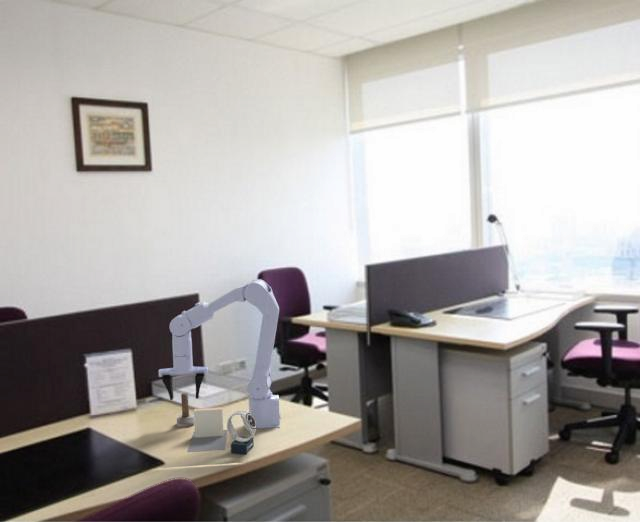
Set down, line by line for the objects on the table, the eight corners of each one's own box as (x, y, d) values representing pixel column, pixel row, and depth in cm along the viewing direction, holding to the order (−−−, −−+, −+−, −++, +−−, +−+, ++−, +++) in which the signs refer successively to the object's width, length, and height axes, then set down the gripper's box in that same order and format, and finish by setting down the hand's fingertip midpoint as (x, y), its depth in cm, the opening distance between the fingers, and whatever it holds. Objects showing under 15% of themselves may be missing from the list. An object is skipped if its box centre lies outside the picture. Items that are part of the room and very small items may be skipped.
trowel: (194, 423, 189) (193, 392, 188) (193, 427, 186) (192, 395, 185) (178, 424, 189) (176, 393, 188) (177, 428, 186) (175, 396, 185)
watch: (253, 456, 163) (251, 416, 162) (225, 454, 165) (223, 414, 164) (260, 448, 168) (259, 409, 167) (233, 446, 170) (231, 408, 169)
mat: (227, 431, 182) (227, 429, 182) (224, 451, 167) (224, 449, 167) (193, 433, 181) (193, 431, 181) (187, 453, 166) (187, 451, 166)
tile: (223, 433, 178) (222, 407, 178) (223, 435, 177) (222, 408, 176) (195, 435, 178) (194, 408, 177) (195, 437, 176) (193, 410, 175)
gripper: (207, 350, 190) (209, 393, 191) (160, 352, 189) (162, 395, 190) (205, 355, 183) (207, 400, 184) (156, 358, 182) (158, 402, 183)
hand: (184, 398), depth 187 cm, fingers open, 7 cm apart
